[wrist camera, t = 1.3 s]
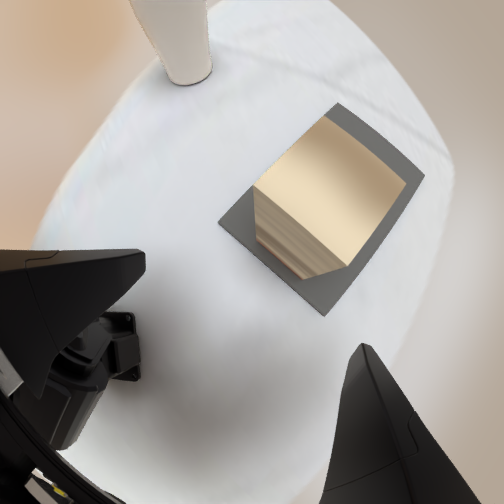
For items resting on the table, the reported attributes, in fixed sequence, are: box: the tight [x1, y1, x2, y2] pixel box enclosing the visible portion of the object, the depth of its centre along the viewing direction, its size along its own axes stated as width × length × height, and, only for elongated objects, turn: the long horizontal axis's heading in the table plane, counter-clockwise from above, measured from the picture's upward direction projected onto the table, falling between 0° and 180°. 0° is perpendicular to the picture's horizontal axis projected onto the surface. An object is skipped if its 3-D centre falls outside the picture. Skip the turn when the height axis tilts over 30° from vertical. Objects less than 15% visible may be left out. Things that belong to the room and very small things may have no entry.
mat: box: [218, 103, 425, 316], centre depth 23 cm, size 18×12×1 cm, turn 138°
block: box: [253, 116, 406, 280], centre depth 17 cm, size 5×5×12 cm
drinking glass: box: [129, 0, 212, 85], centre depth 19 cm, size 7×7×15 cm
